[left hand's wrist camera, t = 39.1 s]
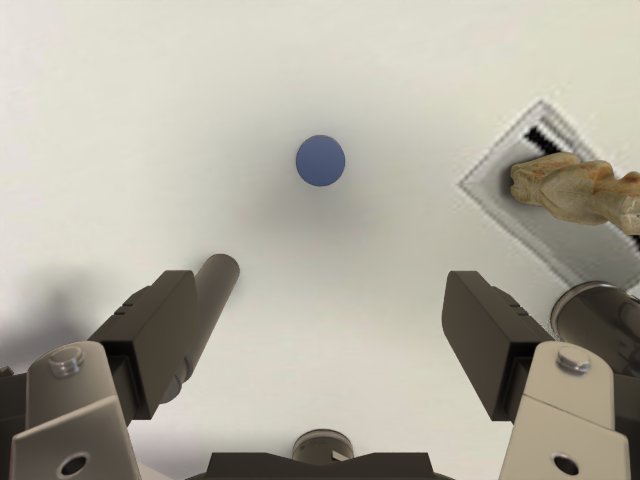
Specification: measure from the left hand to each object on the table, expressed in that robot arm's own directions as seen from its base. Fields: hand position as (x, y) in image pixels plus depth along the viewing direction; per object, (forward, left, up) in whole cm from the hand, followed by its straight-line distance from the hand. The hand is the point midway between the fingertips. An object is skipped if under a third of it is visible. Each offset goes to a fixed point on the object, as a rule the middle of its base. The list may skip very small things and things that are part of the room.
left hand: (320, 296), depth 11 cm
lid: (0, 0, -28) cm, 28 cm away
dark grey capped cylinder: (-9, +16, -30) cm, 35 cm away
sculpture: (-8, -23, -30) cm, 38 cm away
